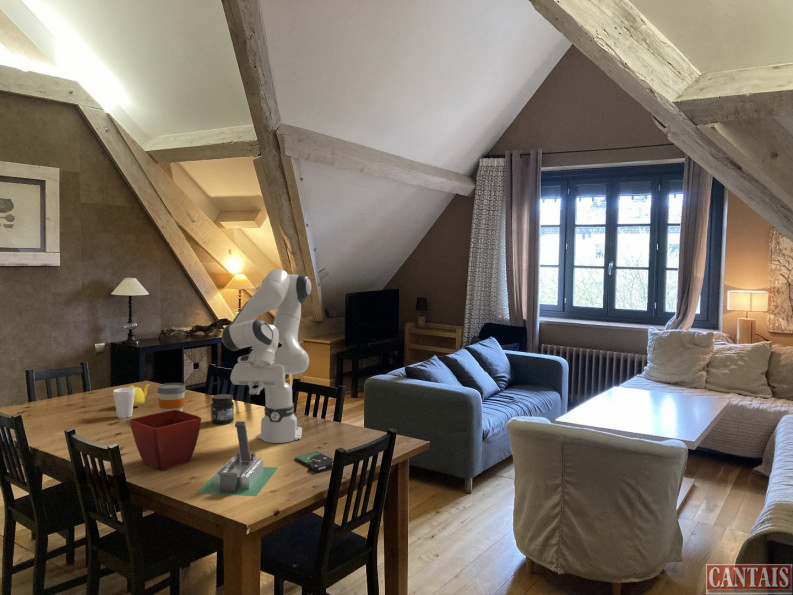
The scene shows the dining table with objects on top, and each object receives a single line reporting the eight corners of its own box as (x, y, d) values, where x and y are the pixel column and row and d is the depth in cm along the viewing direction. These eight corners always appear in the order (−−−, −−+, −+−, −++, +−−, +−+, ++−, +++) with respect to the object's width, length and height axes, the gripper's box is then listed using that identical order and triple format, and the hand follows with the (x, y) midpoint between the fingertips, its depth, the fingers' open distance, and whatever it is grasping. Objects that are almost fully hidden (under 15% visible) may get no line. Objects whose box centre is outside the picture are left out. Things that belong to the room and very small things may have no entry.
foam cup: (128, 413, 297) (128, 386, 296) (139, 416, 291) (138, 389, 290) (109, 417, 289) (109, 390, 288) (120, 420, 284) (119, 393, 283)
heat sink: (230, 470, 217) (230, 451, 217) (263, 472, 216) (263, 452, 216) (209, 492, 198) (209, 471, 197) (245, 493, 197) (245, 472, 197)
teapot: (146, 401, 320) (145, 381, 319) (155, 405, 312) (154, 384, 311) (110, 407, 307) (110, 386, 306) (118, 411, 299) (118, 390, 298)
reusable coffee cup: (152, 417, 289) (151, 386, 288) (174, 411, 300) (173, 381, 299) (169, 421, 283) (169, 389, 282) (191, 415, 293) (191, 384, 292)
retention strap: (240, 463, 214) (242, 459, 216) (249, 464, 214) (250, 460, 216) (234, 424, 208) (236, 421, 210) (243, 425, 207) (245, 421, 209)
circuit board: (224, 468, 223) (224, 465, 223) (278, 470, 221) (278, 467, 221) (195, 496, 197) (195, 493, 197) (256, 498, 195) (256, 495, 195)
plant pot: (129, 462, 227) (128, 418, 226) (176, 450, 242) (175, 408, 241) (155, 475, 215) (154, 428, 214) (203, 461, 230) (202, 417, 229)
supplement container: (213, 418, 288) (213, 393, 287) (236, 418, 289) (236, 393, 288) (207, 425, 278) (207, 399, 277) (231, 425, 278) (230, 399, 277)
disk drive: (339, 468, 225) (316, 457, 236) (339, 461, 225) (316, 450, 236) (315, 475, 219) (293, 463, 230) (315, 467, 218) (293, 456, 229)
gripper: (290, 368, 234) (283, 399, 225) (238, 366, 236) (229, 397, 227) (287, 358, 229) (280, 389, 220) (234, 357, 231) (225, 388, 222)
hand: (254, 393), depth 223 cm, fingers closed
